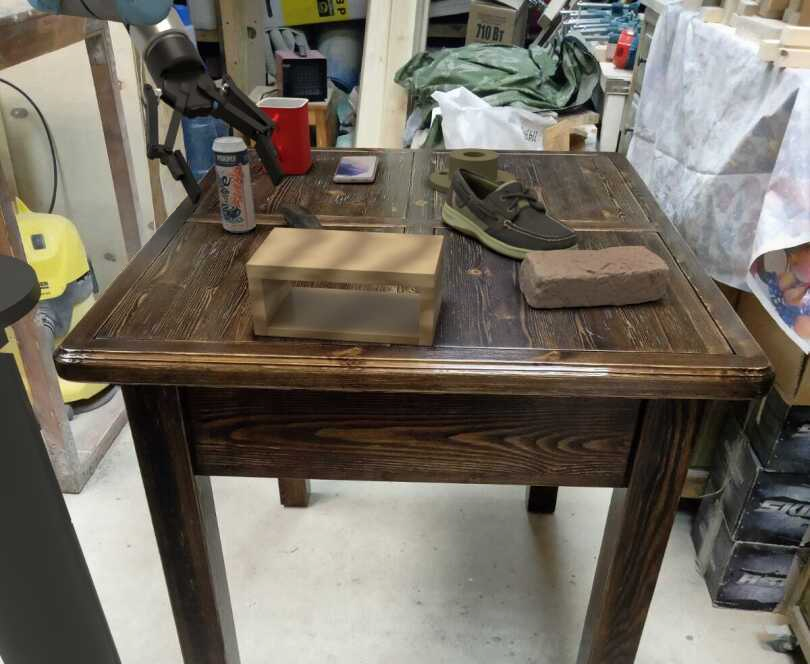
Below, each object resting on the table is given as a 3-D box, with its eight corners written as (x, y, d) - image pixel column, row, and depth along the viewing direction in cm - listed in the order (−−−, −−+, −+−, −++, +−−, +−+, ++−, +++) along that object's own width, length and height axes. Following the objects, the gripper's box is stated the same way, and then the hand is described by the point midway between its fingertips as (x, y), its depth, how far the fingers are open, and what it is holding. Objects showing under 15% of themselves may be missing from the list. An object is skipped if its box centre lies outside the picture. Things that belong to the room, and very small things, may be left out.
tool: (366, 271, 104) (368, 248, 102) (315, 276, 101) (316, 253, 99) (305, 212, 116) (306, 192, 114) (257, 216, 113) (257, 194, 111)
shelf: (254, 335, 85) (245, 264, 80) (281, 293, 94) (274, 227, 89) (432, 346, 84) (434, 273, 78) (441, 302, 93) (444, 235, 88)
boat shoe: (553, 273, 100) (561, 208, 95) (417, 229, 114) (418, 169, 108) (595, 255, 106) (605, 192, 100) (460, 214, 119) (463, 157, 114)
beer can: (217, 231, 112) (203, 141, 105) (236, 222, 115) (225, 134, 108) (243, 236, 111) (231, 145, 103) (262, 226, 114) (253, 138, 106)
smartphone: (333, 178, 131) (341, 156, 142) (333, 184, 131) (341, 161, 143) (374, 177, 131) (379, 155, 142) (374, 183, 131) (379, 161, 143)
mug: (271, 161, 142) (265, 97, 136) (314, 163, 142) (310, 98, 135) (254, 179, 133) (246, 111, 126) (300, 181, 133) (294, 112, 126)
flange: (495, 170, 121) (532, 150, 131) (414, 158, 127) (455, 139, 137) (493, 201, 124) (529, 179, 134) (413, 187, 130) (453, 168, 140)
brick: (532, 311, 91) (537, 272, 88) (515, 284, 97) (520, 247, 94) (664, 306, 93) (674, 267, 90) (639, 279, 99) (647, 243, 96)
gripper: (237, 63, 117) (302, 188, 118) (80, 82, 105) (155, 222, 106) (251, 25, 111) (320, 158, 112) (86, 41, 98) (165, 190, 99)
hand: (240, 189), depth 109 cm, fingers open, 13 cm apart
